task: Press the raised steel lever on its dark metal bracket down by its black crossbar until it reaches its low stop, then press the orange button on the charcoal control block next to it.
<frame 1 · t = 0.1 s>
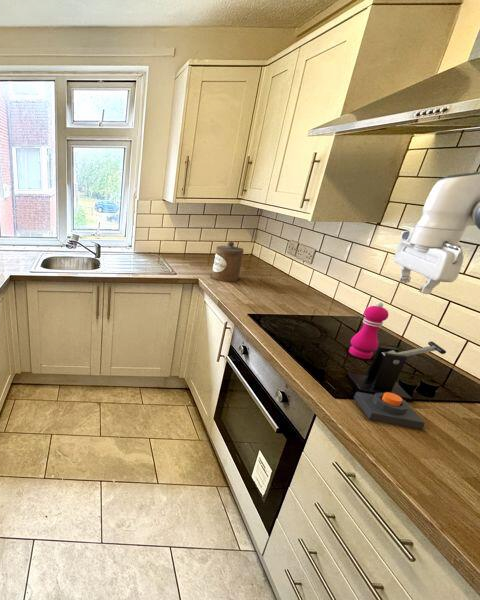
hand: (413, 287, 89), 30 cm above the worktop, tool pointing down, fingers open, 8 cm apart
lever: (411, 352, 88), point 13 cm above the worktop, hinge at 28.0°
wooden container: (224, 278, 191), on the worktop
pepper mill: (359, 354, 112), on the worktop
bracket: (376, 387, 94), on the worktop
button block: (385, 412, 85), on the worktop
button: (391, 399, 83), point 4 cm above the worktop, slide at 0.1 cm
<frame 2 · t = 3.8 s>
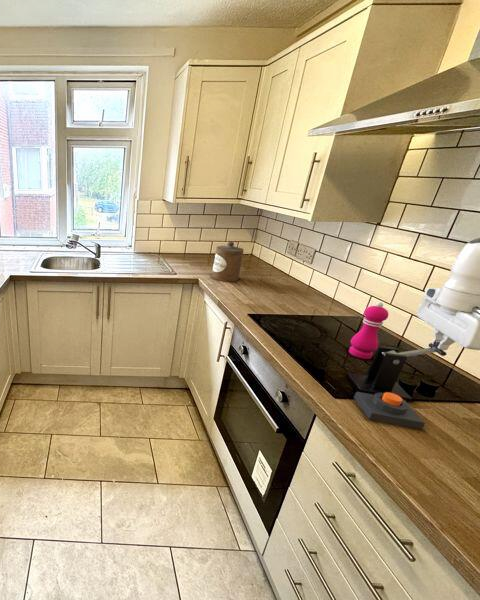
hand: (438, 347, 86), 16 cm above the worktop, tool pointing down, fingers closed
lever: (411, 353, 88), point 13 cm above the worktop, hinge at 24.7°
everything else where it was.
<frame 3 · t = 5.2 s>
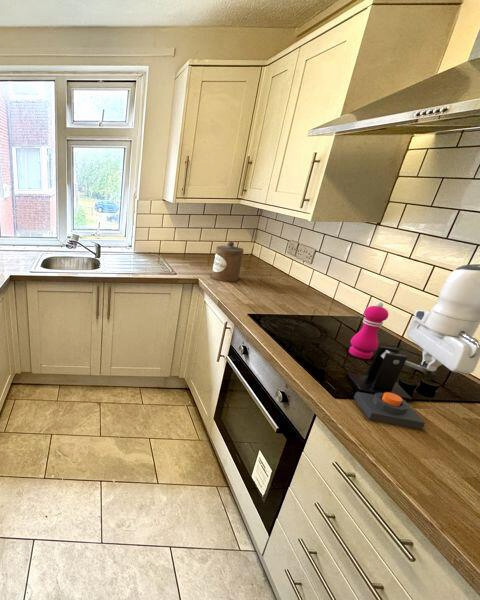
hand: (427, 368, 88), 9 cm above the worktop, tool pointing down, fingers closed, pressing on lever
lever: (407, 363, 89), point 10 cm above the worktop, hinge at -16.9°, touching gripper
everything else where it was.
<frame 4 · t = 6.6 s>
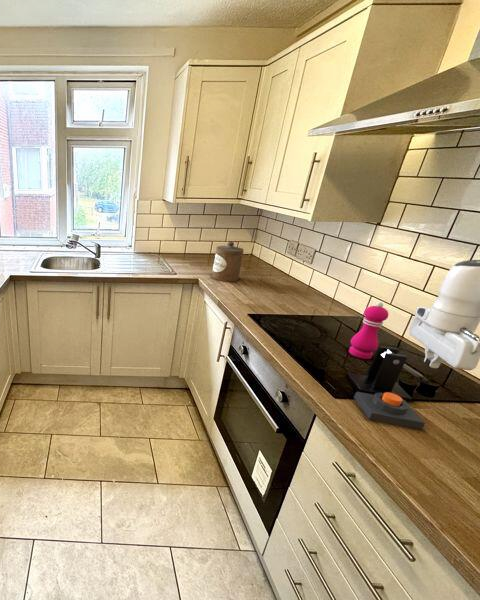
hand: (430, 365, 88), 10 cm above the worktop, tool pointing down, fingers closed
lever: (404, 366, 90), point 9 cm above the worktop, hinge at -30.8°
everything else where it was.
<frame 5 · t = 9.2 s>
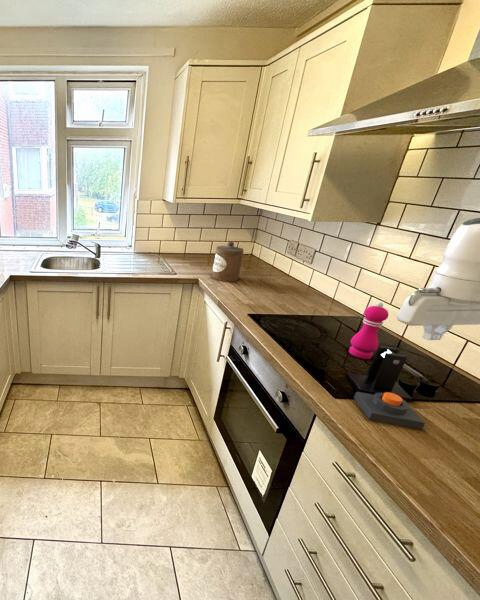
hand: (430, 338, 79), 21 cm above the worktop, tool pointing down, fingers closed
nothing on the worktop moved.
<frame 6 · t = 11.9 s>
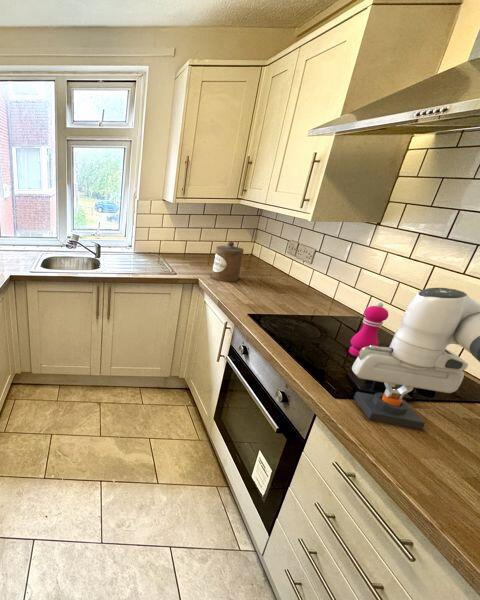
hand: (392, 396, 83), 5 cm above the worktop, tool pointing down, fingers closed, pressing on button
button: (391, 399, 83), point 4 cm above the worktop, slide at 0.0 cm, touching gripper
everything else where it was.
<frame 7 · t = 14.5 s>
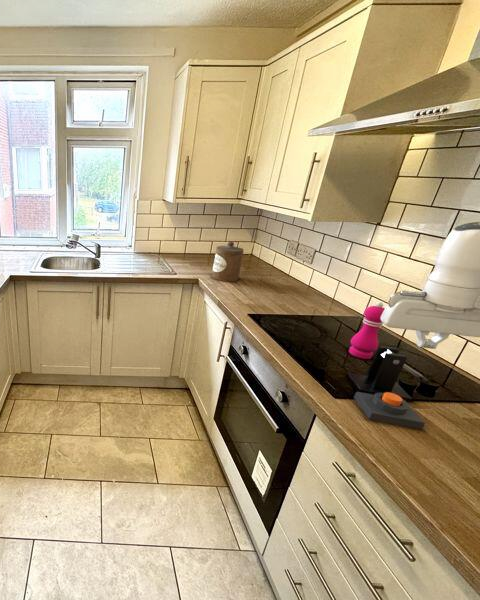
hand: (425, 347, 77), 20 cm above the worktop, tool pointing down, fingers closed
button: (391, 399, 83), point 4 cm above the worktop, slide at 0.1 cm
everything else where it was.
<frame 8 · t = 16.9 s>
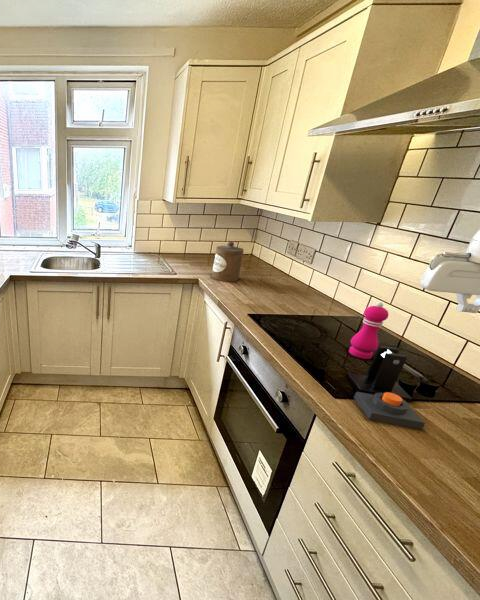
hand: (466, 311, 75), 29 cm above the worktop, tool pointing down, fingers closed
nothing on the worktop moved.
at the end: lever at -31° (first picture: +28°); button pushed in 1.0 cm at the most during the clip, back to where it started at the end; button slide at 0.1 cm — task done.
